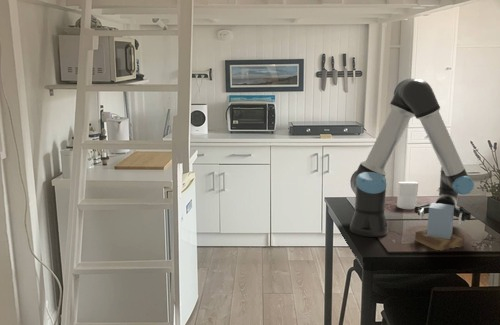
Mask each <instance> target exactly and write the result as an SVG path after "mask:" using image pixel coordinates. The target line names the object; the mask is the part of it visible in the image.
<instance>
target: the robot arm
mask: <svg viewBox="0 0 500 325" xmlns="http://www.w3.org/2000/svg"><path fill="white" fill-rule="evenodd" d="M389 107H390V112H389V113H388V115H387V118H386V120H385V121H384V124H383V126H382V128H381V129H380V132H379V134H377V135H378V136H377V138H376V140H375V142H374V144H372V147H371V150H370V152H368V156H367V157H366V159H365V160H364V161H361V162H360V164H359V166H357V167H358V168H357V170H355V171H354V172H353V173H352V174H351V177H350V180H349V181H350V183H349V184H350V188H351V190H352V191H353V193H354V194H355V203H354V204H355V205H354V213H353V215H352V218H351V222H350V224H349V231H350V232H351V233H353V234H355V235H357V236H361V237H369V238H370V237H371V238H374V237H375V238H377V237H384V236H386V235H388V232H389V230H388V229H389V226H388V223H387V222H388V221H387V219H386V215H385V210H386V209H385V208H386V192H387V179H386V175H387V173H386V171H385V169H386V168H387V165H388V163H389V161H390V159H391V158H392V156H393V154H394V151H395V150H396V148H397V147H398V146H397V145H398V143H399V142H400V140H401V138H402V136H403V134H404V132H405V130H406V128H407V126H408V124H409V123H410V120H411V119H412V118H414V117H415V119H417V120H419V121H420V123H421V126H422V127H423V130H424V132H425V134H426V135H427V138H428V140H429V143H430V144H431V146H432V147H431V148H432V149H433V151H434V153H435V155H436V157H437V160H438V162H439V164H440V166H441V167H440V178H439V189H438V197H437V199H436V202H435V203H439V204H447V205H454V216H453V217H456V218H458V223H457V224H458V225H461V223H462V222H465V220H467V221H471V220H472V213H471V212H469V211H468V210H467V209H465V208H464V207H463V206H460V207H458V208H457V204H458V202H459V195H462V196H465V195H469V194H470V193H472V191H473V190H474V187H475V182H474V180H473V179H472V178H471V177H470V176H469V175H468V173H467V171H466V168H465V167H464V164H463V161H462V160H461V157H460V155H459V153H458V151H457V149H456V146H455V144H454V142H453V140H452V138H451V136H450V133H449V131H448V129H447V126H446V124H445V123H444V122H445V121H444V119H443V118H442V116H441V113H440V110H441V106H440V104H439V102H438V99H437V97H436V95H435V92H434V91H433V88H432V86H431V84H429V83H428V82H427V81H426V80H424V79H419V78H418V79H416V78H406V79H403V80H402V81H400V82H398V83H397V85H396V87H395V88H394V91H393V97H392V99H391V101H390V103H389ZM430 205H431V203H430V202H425V203H423V204H419V205H417V206H415V209H414V214H417V215H418V217H419V218H418V219H419V220H423V217H424V215H425V214H429V207H430Z"/></svg>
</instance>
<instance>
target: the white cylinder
mask: <svg viewBox="0 0 500 325" xmlns="http://www.w3.org/2000/svg"><path fill="white" fill-rule="evenodd" d="M397 184H398V187H397V200H396V202H397V203H396V207H397V208H400V209H402V210H403V209H404V210H415V206H418V205H417V203H418V191H419V190H418V189H419V182H417V181H398V183H397Z"/></svg>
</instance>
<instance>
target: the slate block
mask: <svg viewBox="0 0 500 325" xmlns="http://www.w3.org/2000/svg"><path fill="white" fill-rule="evenodd" d="M427 217H428V218H427V229H426V230H427V236H431V237H438V238H445V239H450V238H451V235H452V233H453V228H454V217H455V216H454V205H447V204H439V203H436V202H432V203H430V207H429V213H428V216H427Z"/></svg>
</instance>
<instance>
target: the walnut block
mask: <svg viewBox="0 0 500 325" xmlns="http://www.w3.org/2000/svg"><path fill="white" fill-rule="evenodd" d="M427 230H428V229H425V230H419V231H415V237H414V238H415V239H414V241H415V242H418V243H419V244H422V245H424V246H426V247H428V248H431V249H433V250H435V251H437V250H440V251H445V250H444V249H446V250H450V249H449V248H452V249H456V248H455V247H458V248H462V247H461V246H464V237H463V236H460V235H457V234H455V233H453V232H452V235H451V238H450V239H445V238H438V237H431V236H427Z"/></svg>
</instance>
